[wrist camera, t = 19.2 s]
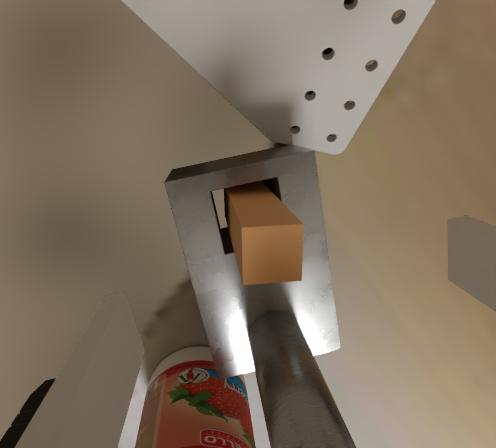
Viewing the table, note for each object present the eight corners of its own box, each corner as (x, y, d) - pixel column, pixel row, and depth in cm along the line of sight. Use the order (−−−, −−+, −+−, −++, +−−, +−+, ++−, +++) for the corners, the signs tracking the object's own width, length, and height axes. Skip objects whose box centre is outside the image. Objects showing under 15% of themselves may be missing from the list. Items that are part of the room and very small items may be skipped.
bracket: (57, -151, 15) (448, -21, 19) (115, -173, 21) (402, -71, 25) (91, 102, 25) (340, 156, 29) (124, 38, 31) (326, 89, 35)
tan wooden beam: (259, 179, 29) (303, 224, 16) (259, 213, 30) (301, 280, 17) (223, 180, 28) (241, 227, 16) (224, 215, 29) (242, 285, 17)
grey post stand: (292, 144, 28) (505, 202, 8) (317, 309, 33) (488, 595, 13) (172, 169, 28) (92, 299, 8) (215, 334, 33) (236, 673, 13)
